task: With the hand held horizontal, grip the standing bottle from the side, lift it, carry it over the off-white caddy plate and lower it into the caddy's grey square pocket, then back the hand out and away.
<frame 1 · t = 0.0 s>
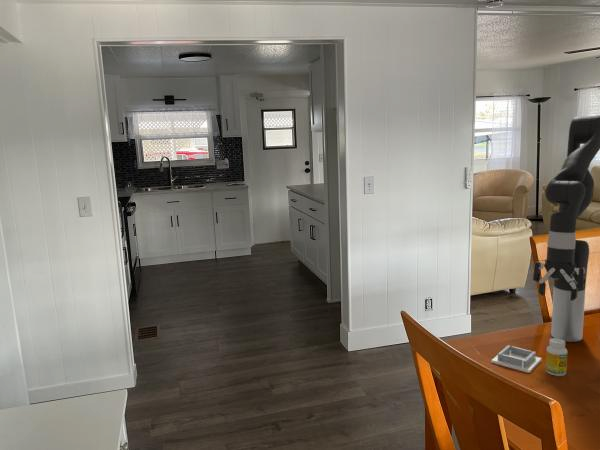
hand: (557, 297, 154), 17 cm above the table, tool pointing down, fingers open, 8 cm apart
caddy: (516, 361, 150), on the table
supplement bottle: (555, 372, 142), on the table
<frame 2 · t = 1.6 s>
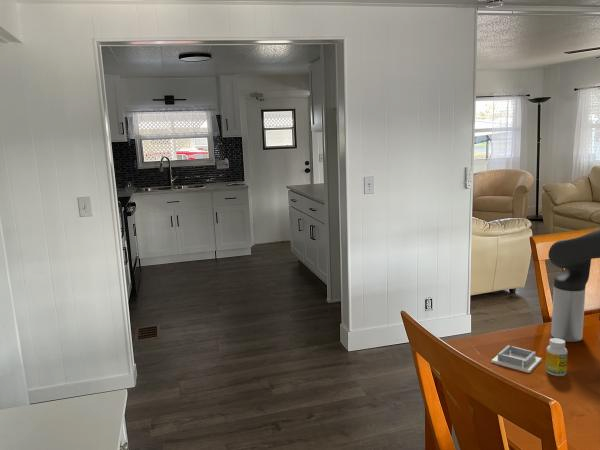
nothing on the table moved.
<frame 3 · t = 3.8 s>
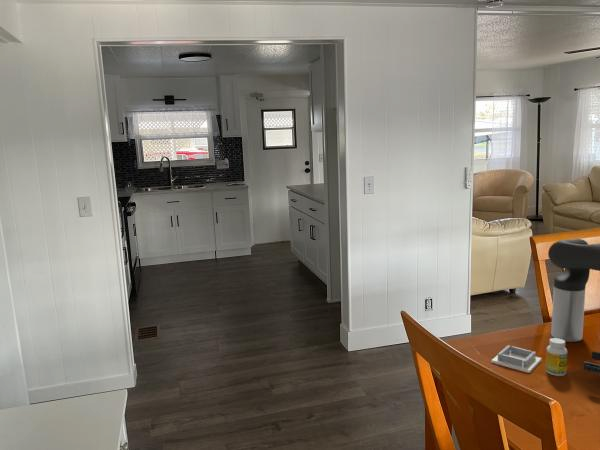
hand: (587, 359, 136), 6 cm above the table, tool horizontal, fingers open, 8 cm apart
nothing on the table moved.
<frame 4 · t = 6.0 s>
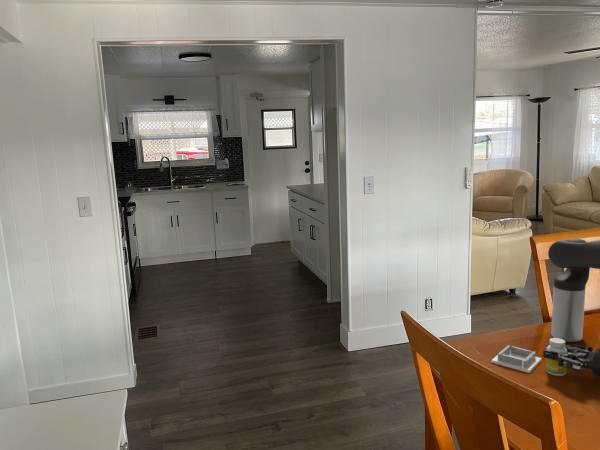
hand: (547, 350, 143), 6 cm above the table, tool horizontal, fingers closed on supplement bottle, 5 cm apart
supplement bottle: (555, 372, 142), on the table, touching gripper
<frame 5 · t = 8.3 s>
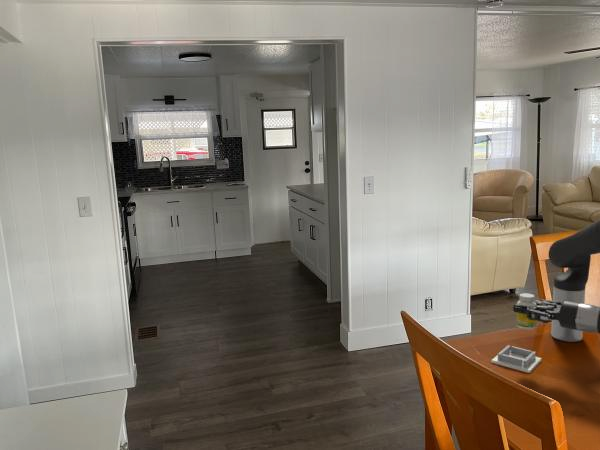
hand: (517, 305, 147), 18 cm above the table, tool horizontal, fingers closed on supplement bottle, 5 cm apart
supplement bottle: (525, 327, 146), point 11 cm above the table, touching gripper
when the fingers open (7 cm above the table, at t = 10.9 s): supplement bottle stays where it is, resting on caddy.
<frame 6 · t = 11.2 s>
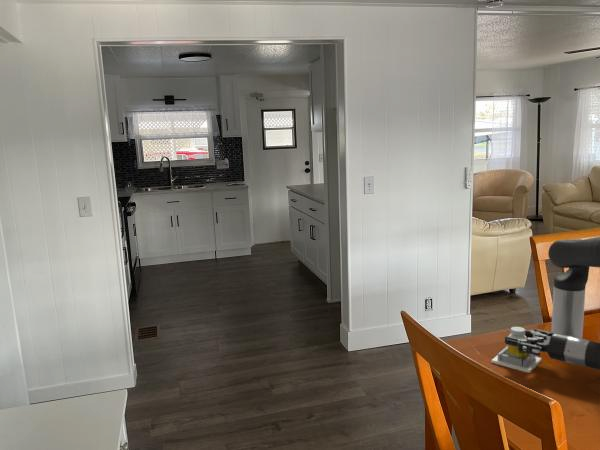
hand: (510, 335, 150), 8 cm above the table, tool horizontal, fingers open, 8 cm apart
supplement bottle: (516, 359, 150), point 1 cm above the table, touching caddy
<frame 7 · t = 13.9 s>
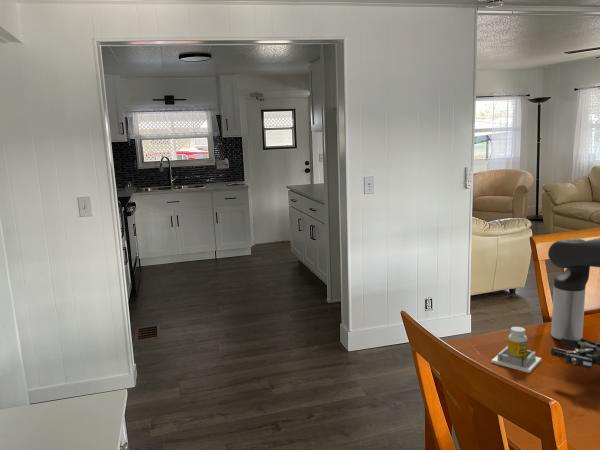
hand: (556, 346, 141), 8 cm above the table, tool horizontal, fingers open, 8 cm apart
nothing on the table moved.
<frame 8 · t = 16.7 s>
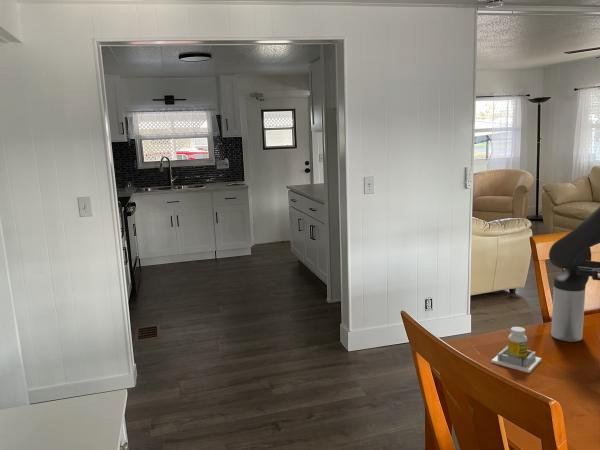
hand: (580, 267, 140), 30 cm above the table, tool horizontal, fingers open, 8 cm apart
nothing on the table moved.
at the end: supplement bottle 0.1 cm off-centre on the caddy, point 0.6 cm above the caddy's base; supplement bottle tilted 0°; the gripper is holding nothing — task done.
